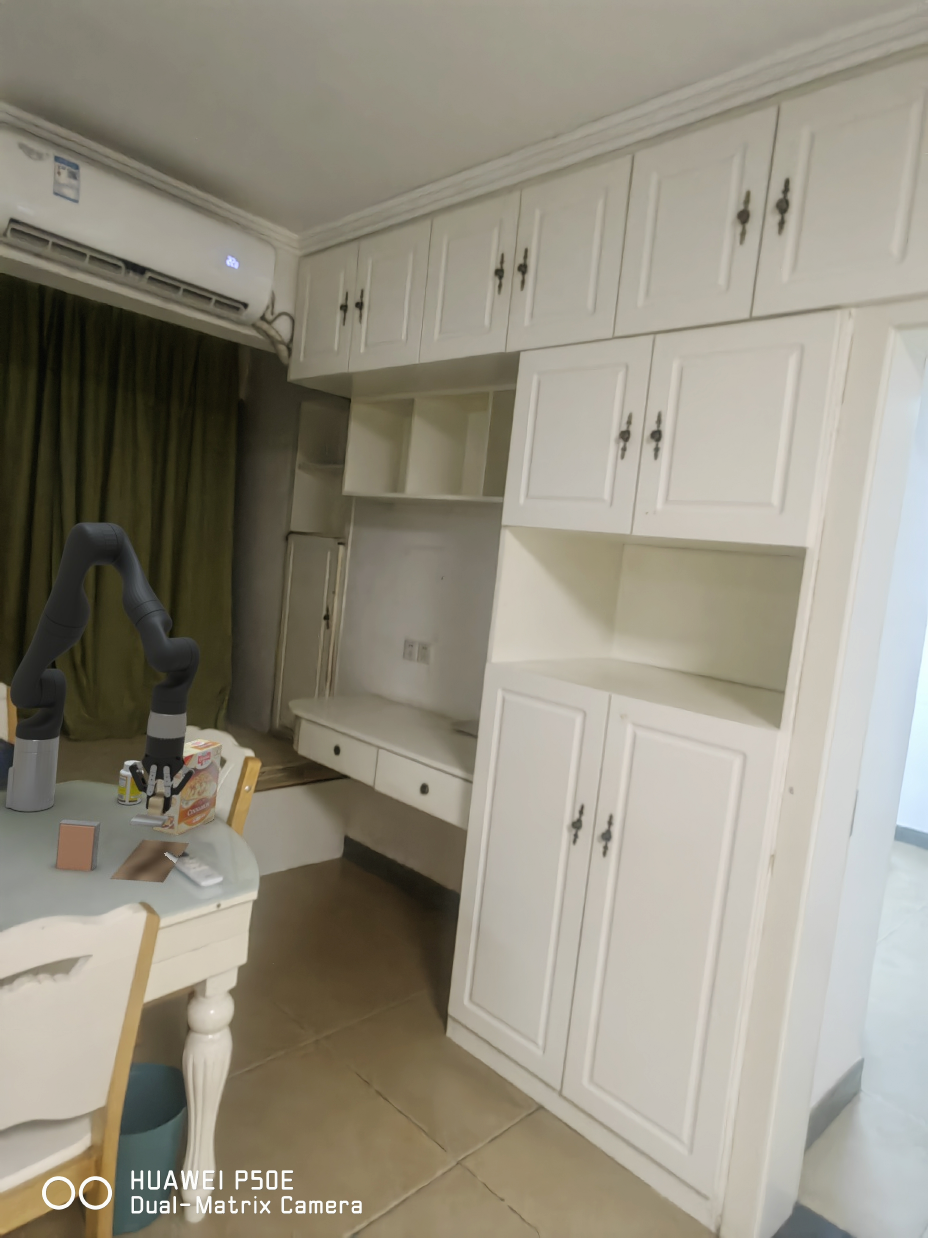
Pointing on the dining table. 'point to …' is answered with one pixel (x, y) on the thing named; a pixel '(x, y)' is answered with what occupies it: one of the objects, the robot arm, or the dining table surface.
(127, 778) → the supplement bottle
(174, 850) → the board
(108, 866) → the dining table surface
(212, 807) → the coffeecake box
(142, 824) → the turner
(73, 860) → the glazed tile
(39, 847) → the dining table surface
